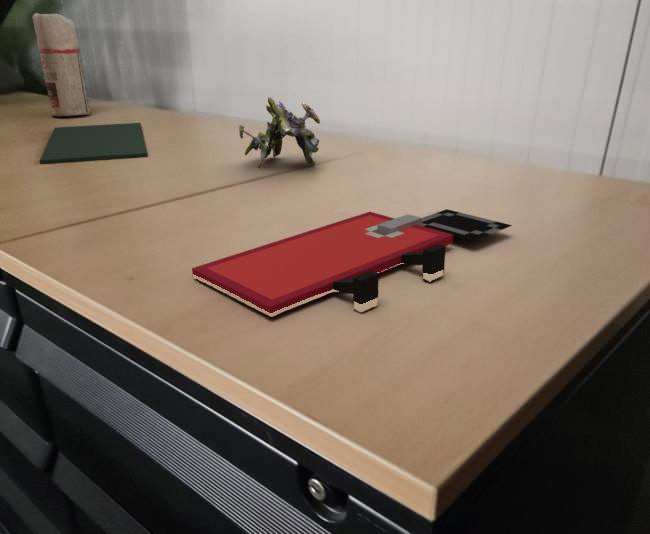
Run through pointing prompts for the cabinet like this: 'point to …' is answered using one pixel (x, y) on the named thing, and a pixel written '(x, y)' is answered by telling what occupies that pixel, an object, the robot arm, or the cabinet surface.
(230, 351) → the cabinet surface
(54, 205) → the cabinet surface
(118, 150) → the mat
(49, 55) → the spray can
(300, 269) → the red board with handle
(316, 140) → the toy creature figure
